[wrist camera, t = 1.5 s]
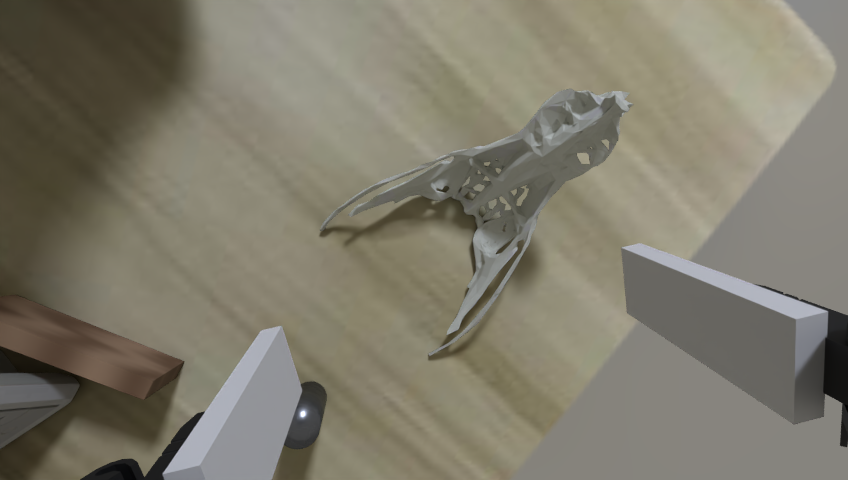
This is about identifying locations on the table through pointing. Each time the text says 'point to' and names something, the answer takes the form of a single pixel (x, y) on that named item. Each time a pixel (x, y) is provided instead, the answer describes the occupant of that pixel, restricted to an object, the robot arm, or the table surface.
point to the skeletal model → (512, 180)
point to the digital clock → (30, 398)
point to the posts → (307, 416)
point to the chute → (83, 348)
